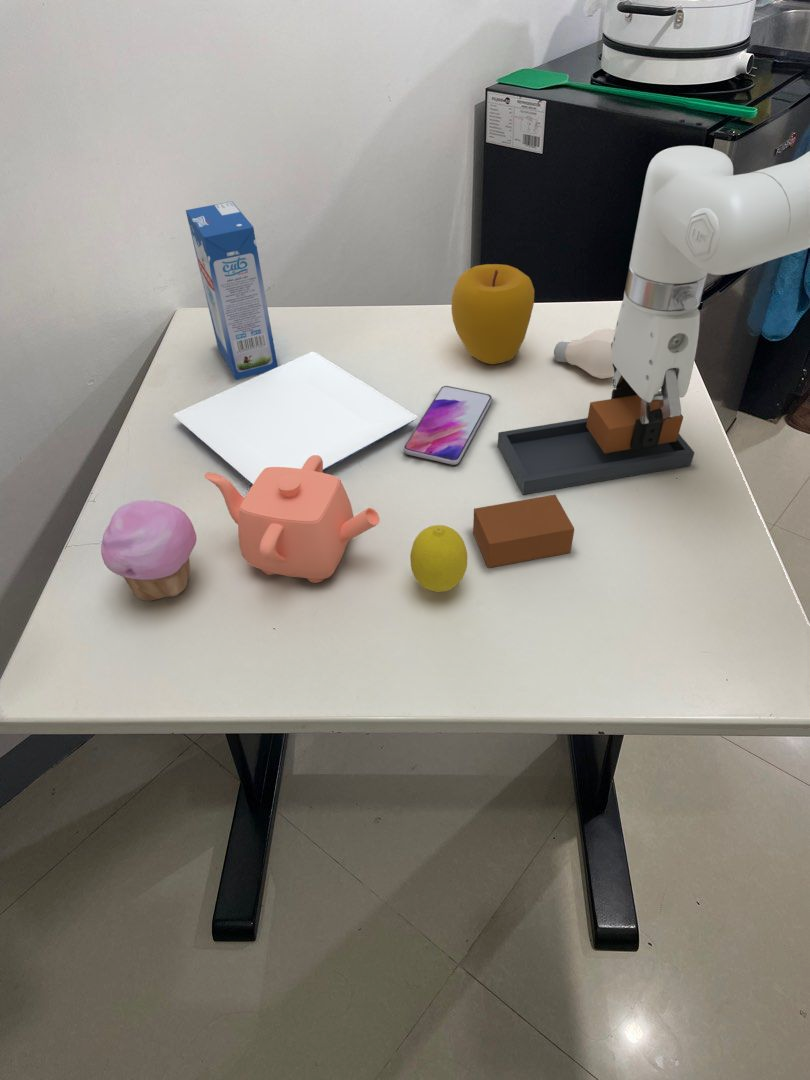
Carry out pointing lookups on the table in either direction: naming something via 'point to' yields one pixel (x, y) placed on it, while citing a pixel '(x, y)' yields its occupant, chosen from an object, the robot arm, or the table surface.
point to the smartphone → (448, 425)
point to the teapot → (294, 520)
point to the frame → (579, 457)
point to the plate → (294, 417)
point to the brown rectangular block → (624, 423)
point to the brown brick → (522, 530)
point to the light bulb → (589, 353)
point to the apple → (492, 311)
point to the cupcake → (150, 548)
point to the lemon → (438, 558)
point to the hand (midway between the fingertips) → (631, 430)
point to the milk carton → (233, 287)
